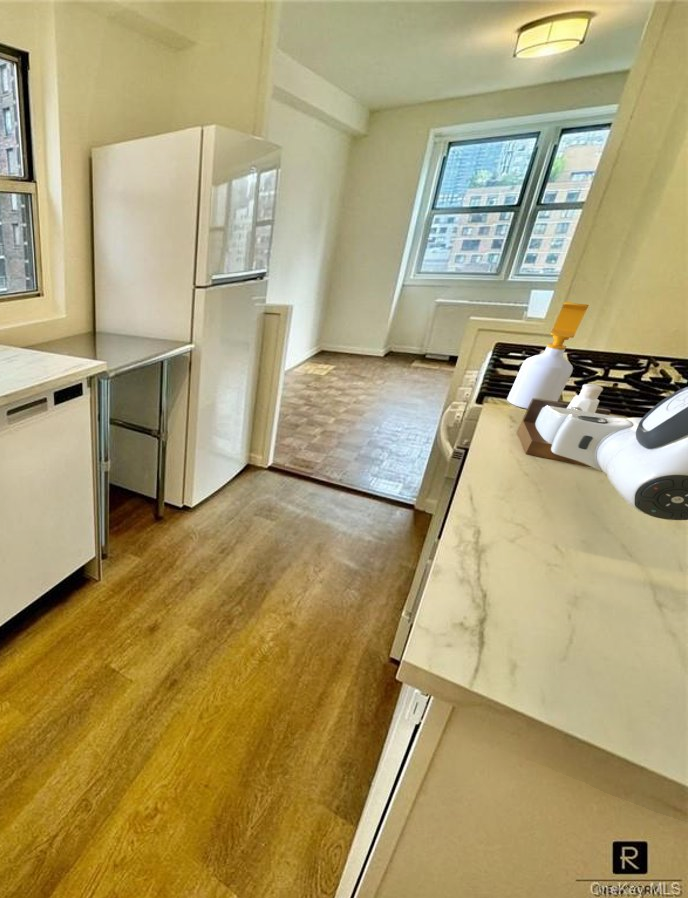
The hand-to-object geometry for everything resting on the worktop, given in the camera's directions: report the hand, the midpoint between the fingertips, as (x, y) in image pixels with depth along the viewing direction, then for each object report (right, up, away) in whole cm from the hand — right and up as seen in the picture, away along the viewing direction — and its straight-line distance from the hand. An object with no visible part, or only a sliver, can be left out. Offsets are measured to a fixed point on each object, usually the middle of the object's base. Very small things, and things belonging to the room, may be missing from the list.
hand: (608, 416), depth 82 cm
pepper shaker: (+7, -4, +14) cm, 16 cm away
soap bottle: (+20, +5, +37) cm, 42 cm away
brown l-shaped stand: (+7, -6, +16) cm, 18 cm away
